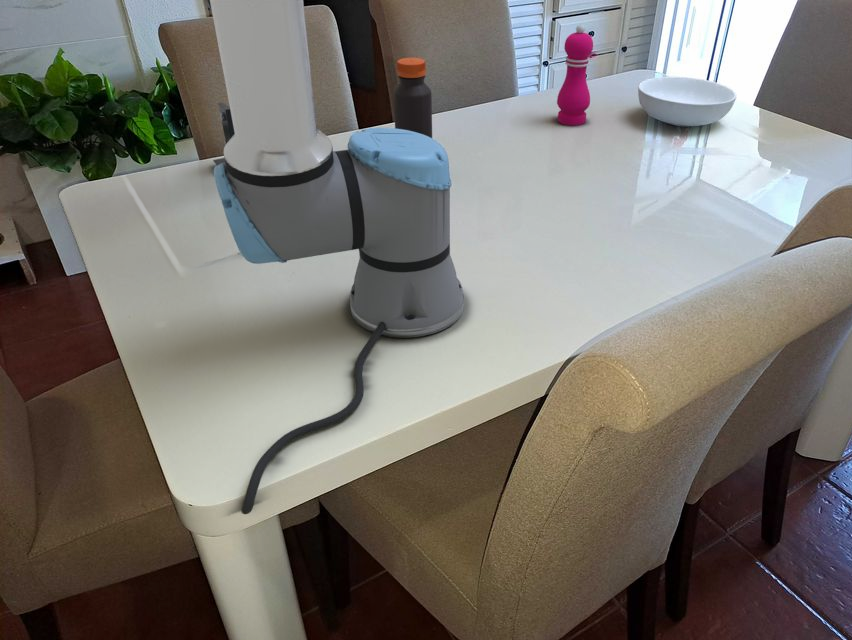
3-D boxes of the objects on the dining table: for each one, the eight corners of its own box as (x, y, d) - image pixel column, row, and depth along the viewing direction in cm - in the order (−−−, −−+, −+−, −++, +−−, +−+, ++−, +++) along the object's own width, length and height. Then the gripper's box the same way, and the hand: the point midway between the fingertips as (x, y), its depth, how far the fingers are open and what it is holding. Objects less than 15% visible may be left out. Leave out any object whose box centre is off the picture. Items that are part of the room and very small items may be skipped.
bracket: (283, 179, 130) (272, 109, 122) (235, 189, 126) (220, 118, 118) (260, 157, 138) (249, 91, 130) (214, 166, 134) (200, 98, 127)
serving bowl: (725, 141, 147) (733, 108, 143) (626, 128, 153) (630, 96, 149) (732, 112, 163) (740, 81, 159) (642, 101, 169) (646, 71, 165)
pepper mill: (548, 120, 157) (556, 24, 145) (569, 113, 161) (578, 19, 149) (573, 128, 153) (583, 30, 141) (594, 121, 157) (605, 24, 145)
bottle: (394, 166, 135) (388, 57, 123) (428, 163, 136) (426, 55, 124) (400, 180, 130) (395, 67, 118) (436, 177, 131) (434, 65, 119)
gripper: (250, -117, 104) (274, 52, 118) (159, -114, 98) (196, 62, 112) (268, -113, 99) (291, 62, 113) (172, -111, 93) (209, 74, 107)
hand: (243, 62), depth 112 cm, fingers closed
